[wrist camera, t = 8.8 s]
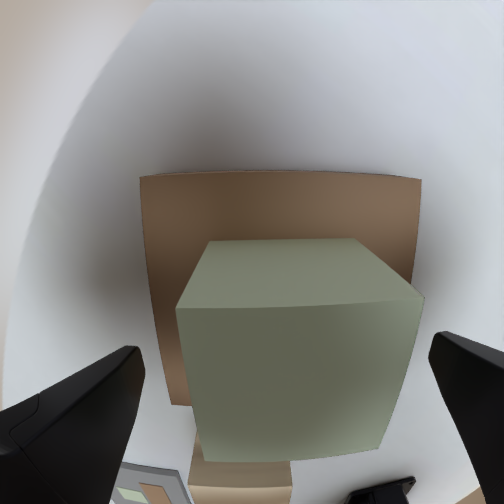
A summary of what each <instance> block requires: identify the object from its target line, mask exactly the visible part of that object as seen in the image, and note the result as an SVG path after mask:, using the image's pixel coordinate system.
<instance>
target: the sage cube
mask: <svg viewBox="0 0 504 504" xmlns="http://www.w3.org/2000/svg"><path fill="white" fill-rule="evenodd" d="M424 299H425V297H424V296H423V295H422V294H420V293H419V292H418V291H417V290H416V289H415V288H414V287H412V286H411V285H410V284H409V283H408V282H407V281H406V280H404V279H403V278H402V277H401V276H400V275H399V274H397V273H396V272H395V271H394V270H393V269H391V268H390V267H389V266H388V265H387V264H386V263H384V262H383V261H382V260H381V259H379V258H378V257H377V256H376V255H375V254H373V253H372V252H371V251H370V250H369V249H367V248H366V247H365V246H364V245H362V244H361V243H360V242H359V241H357V240H356V239H355V238H325V239H272V240H229V241H209V243H208V245H207V247H206V249H205V251H204V253H203V255H202V256H201V258H200V260H199V262H198V264H197V266H196V268H195V270H194V272H193V274H192V276H191V278H190V280H189V282H188V284H187V286H186V288H185V290H184V292H183V294H182V296H181V298H180V300H179V302H178V304H177V306H176V308H175V310H176V317H177V324H178V330H179V337H180V343H181V349H182V355H183V361H184V366H185V372H186V377H187V383H188V388H189V393H190V398H191V403H192V408H193V412H194V417H195V422H196V426H197V430H198V435H199V439H200V443H201V447H202V452H203V456H204V460H205V461H212V462H277V461H293V460H305V459H315V458H324V457H332V456H339V455H346V454H352V453H358V452H363V451H369V450H374V449H378V448H379V446H380V443H381V441H382V439H383V436H384V434H385V431H386V429H387V426H388V424H389V421H390V419H391V416H392V413H393V411H394V408H395V405H396V402H397V399H398V396H399V393H400V390H401V387H402V384H403V381H404V378H405V375H406V372H407V368H408V365H409V361H410V358H411V354H412V351H413V347H414V343H415V339H416V335H417V331H418V327H419V323H420V318H421V314H422V309H423V304H424Z"/></svg>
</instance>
